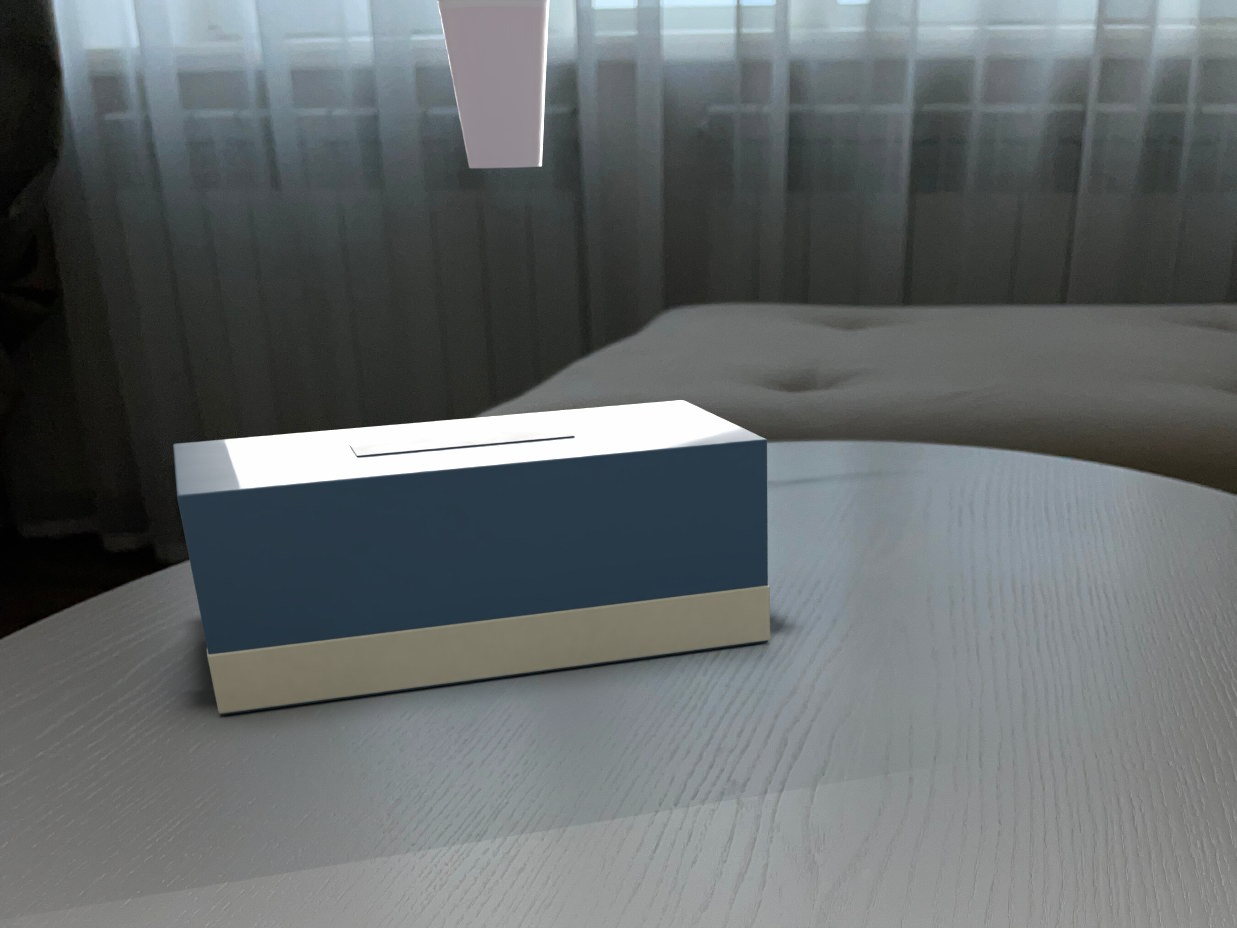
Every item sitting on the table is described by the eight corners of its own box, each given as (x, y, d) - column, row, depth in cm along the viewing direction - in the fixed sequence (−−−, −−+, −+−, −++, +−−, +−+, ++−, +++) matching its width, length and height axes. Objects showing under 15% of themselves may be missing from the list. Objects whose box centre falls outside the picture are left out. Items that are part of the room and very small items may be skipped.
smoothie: (515, 168, 70) (490, -193, 63) (416, 169, 73) (381, -175, 66) (592, 164, 75) (576, -172, 68) (496, 165, 78) (471, -156, 71)
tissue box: (219, 717, 57) (175, 494, 52) (209, 636, 66) (171, 442, 62) (770, 642, 63) (769, 437, 58) (690, 578, 72) (684, 398, 68)
